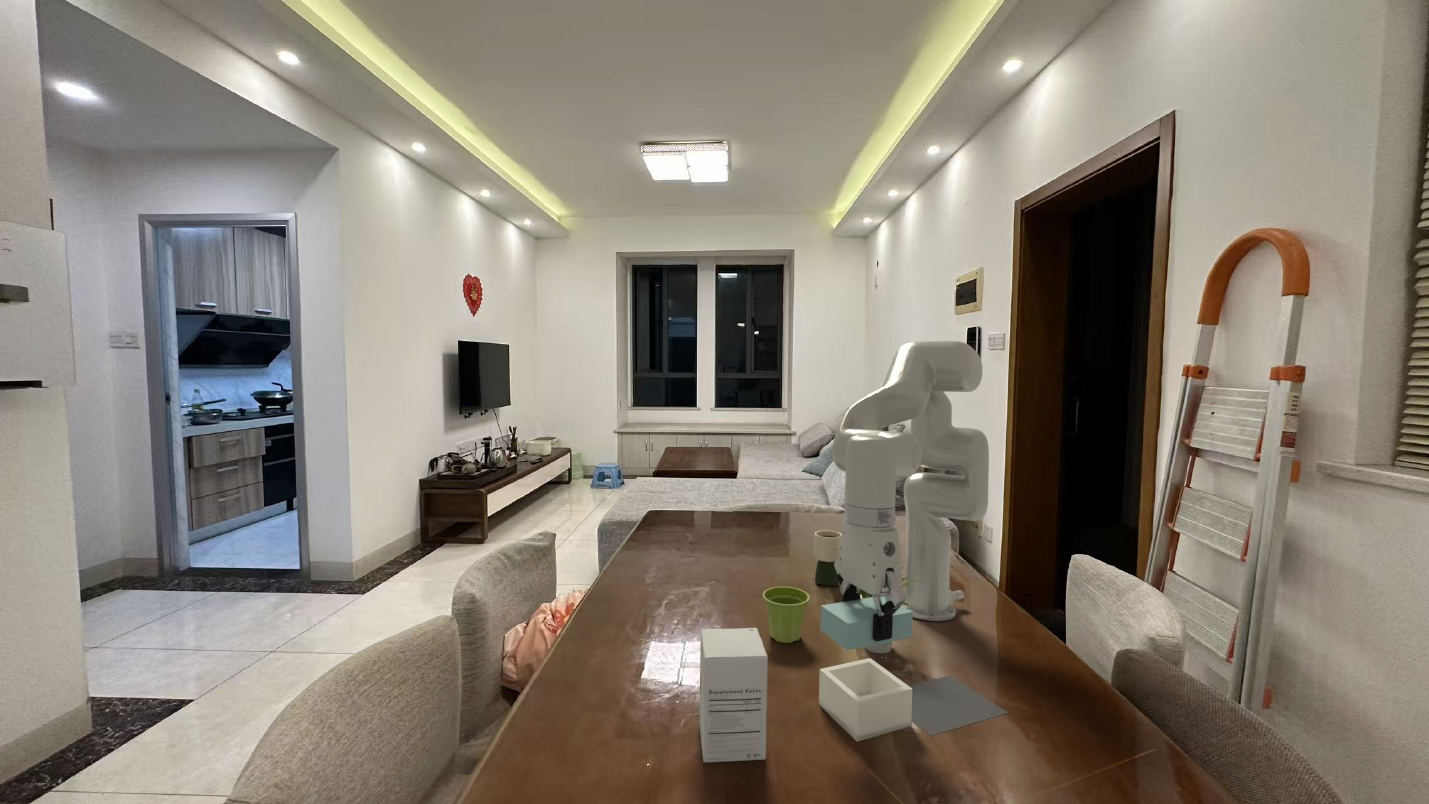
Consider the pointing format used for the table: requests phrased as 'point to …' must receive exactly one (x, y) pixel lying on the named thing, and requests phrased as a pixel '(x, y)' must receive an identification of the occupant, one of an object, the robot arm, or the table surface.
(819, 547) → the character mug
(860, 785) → the table surface
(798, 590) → the plant pot
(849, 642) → the teal rectangular block
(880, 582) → the robot arm
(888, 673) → the white open-top box
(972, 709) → the mat
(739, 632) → the supplement box
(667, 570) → the table surface
